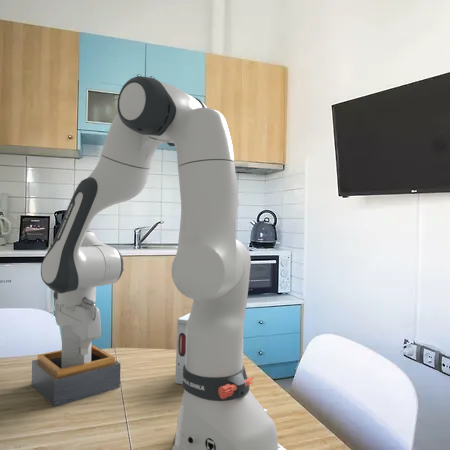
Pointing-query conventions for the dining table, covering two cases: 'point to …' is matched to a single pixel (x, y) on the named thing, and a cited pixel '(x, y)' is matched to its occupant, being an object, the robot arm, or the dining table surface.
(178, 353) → the supplement box
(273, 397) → the dining table surface
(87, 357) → the skincare box
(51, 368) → the grey open box
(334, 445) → the dining table surface
